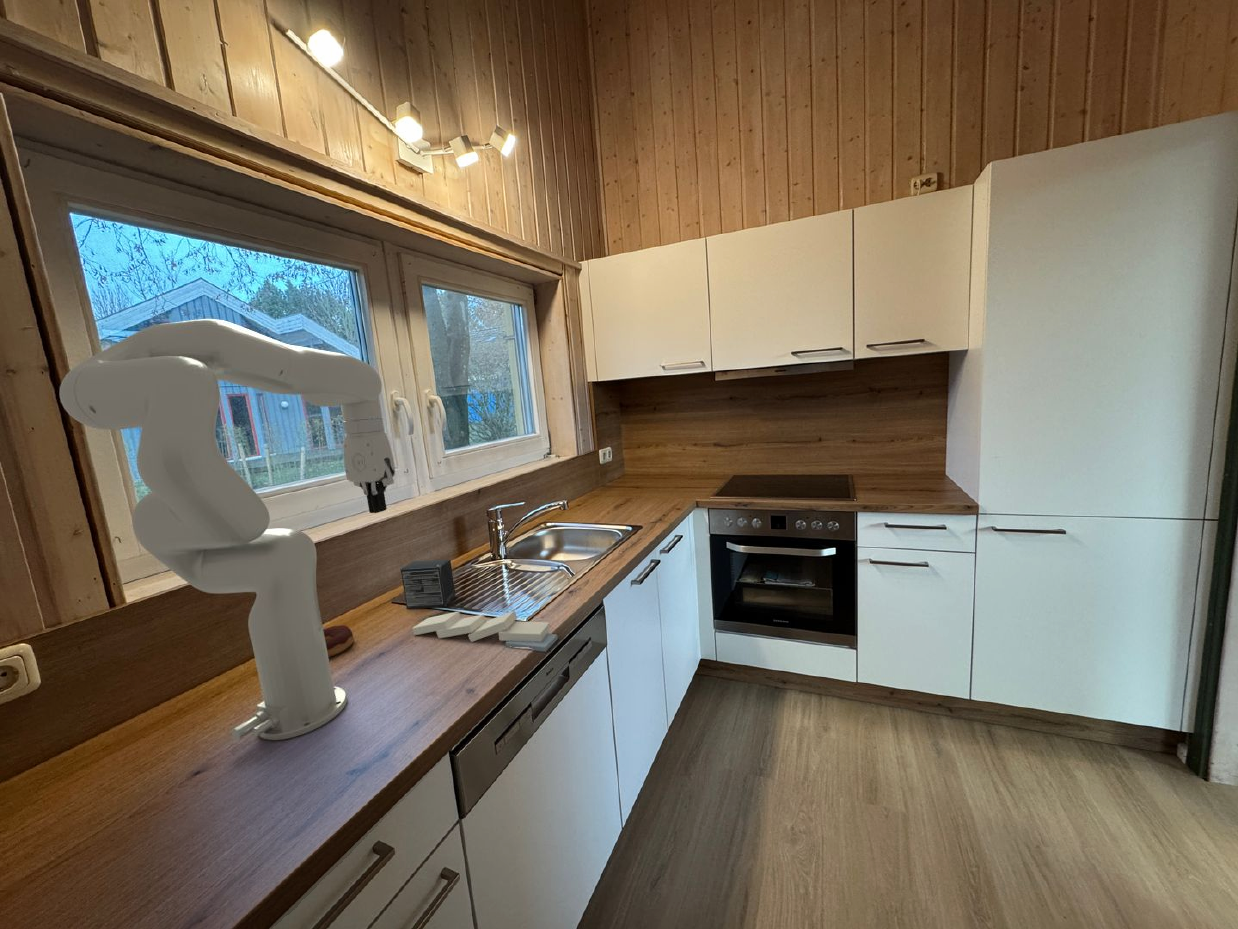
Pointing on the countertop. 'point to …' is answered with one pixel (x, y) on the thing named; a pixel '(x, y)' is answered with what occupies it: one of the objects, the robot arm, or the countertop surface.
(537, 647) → the domino
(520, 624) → the domino
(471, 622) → the domino
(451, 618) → the domino
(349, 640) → the donut
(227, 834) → the countertop surface
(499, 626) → the domino
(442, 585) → the small box
